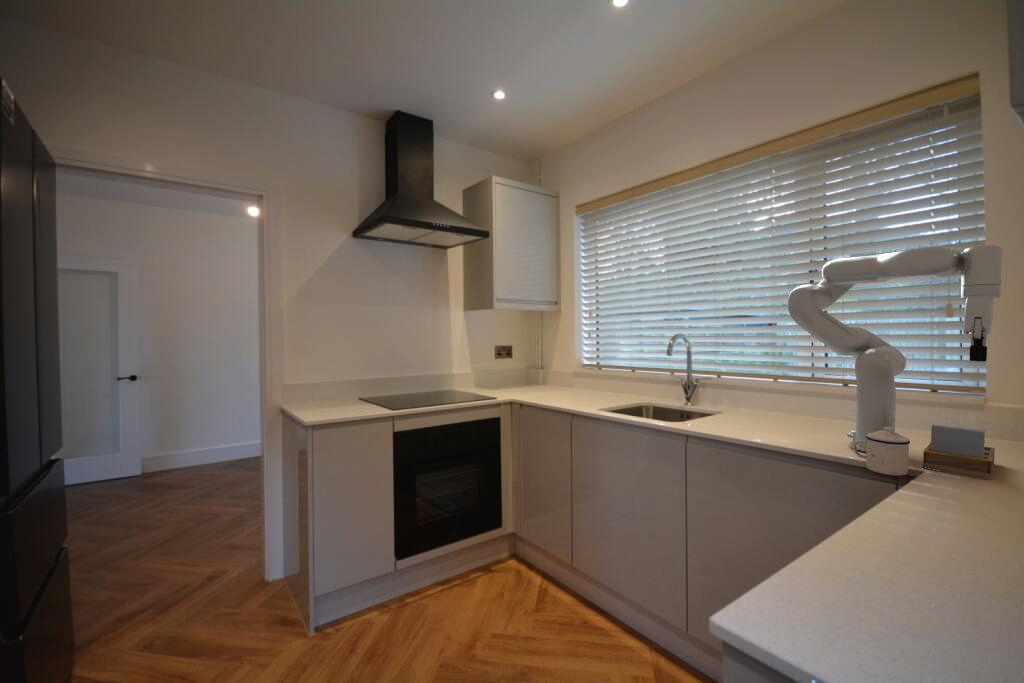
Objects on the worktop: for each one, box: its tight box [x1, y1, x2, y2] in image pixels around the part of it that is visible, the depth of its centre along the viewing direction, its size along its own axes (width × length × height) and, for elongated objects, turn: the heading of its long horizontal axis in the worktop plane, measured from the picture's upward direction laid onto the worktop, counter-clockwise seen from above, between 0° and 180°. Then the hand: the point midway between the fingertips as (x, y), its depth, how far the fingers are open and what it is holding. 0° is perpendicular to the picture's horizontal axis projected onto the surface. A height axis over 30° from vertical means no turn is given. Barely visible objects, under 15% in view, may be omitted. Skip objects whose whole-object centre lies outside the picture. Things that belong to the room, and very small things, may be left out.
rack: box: [922, 442, 996, 481], centre depth 127 cm, size 20×13×5 cm, turn 132°
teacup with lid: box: [852, 427, 911, 477], centre depth 124 cm, size 12×9×12 cm
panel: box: [930, 424, 986, 459], centre depth 123 cm, size 2×10×10 cm, turn 42°
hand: (978, 360), depth 125 cm, fingers closed
